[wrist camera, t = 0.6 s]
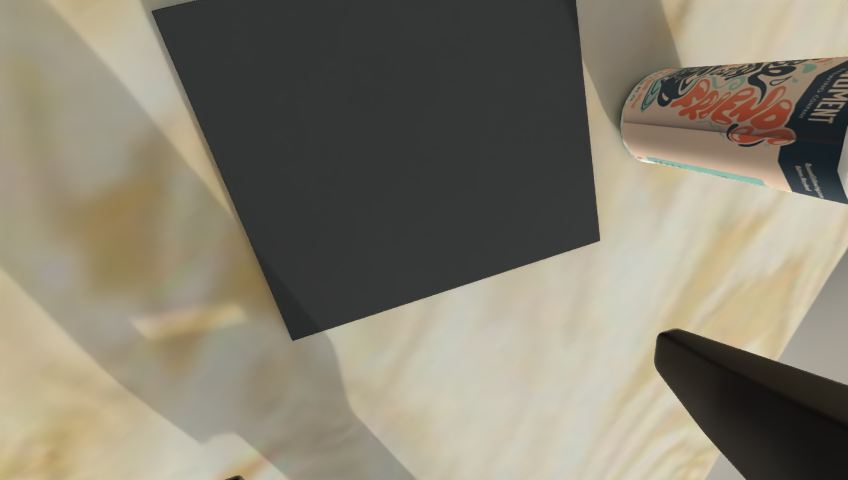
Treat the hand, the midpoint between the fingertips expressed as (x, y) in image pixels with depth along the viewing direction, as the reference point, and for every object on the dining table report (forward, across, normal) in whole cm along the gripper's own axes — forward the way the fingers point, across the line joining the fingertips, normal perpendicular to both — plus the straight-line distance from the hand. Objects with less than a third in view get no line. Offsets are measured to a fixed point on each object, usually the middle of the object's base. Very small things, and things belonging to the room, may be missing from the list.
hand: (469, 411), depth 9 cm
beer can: (+14, -16, -1) cm, 21 cm away
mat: (+14, -3, -2) cm, 15 cm away
